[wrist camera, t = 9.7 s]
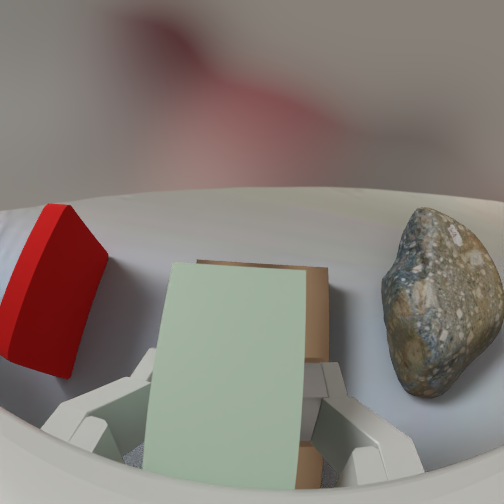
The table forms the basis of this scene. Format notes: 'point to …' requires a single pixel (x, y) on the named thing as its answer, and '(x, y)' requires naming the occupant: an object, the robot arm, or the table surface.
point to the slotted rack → (307, 353)
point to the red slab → (51, 293)
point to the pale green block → (228, 377)
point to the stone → (439, 303)
